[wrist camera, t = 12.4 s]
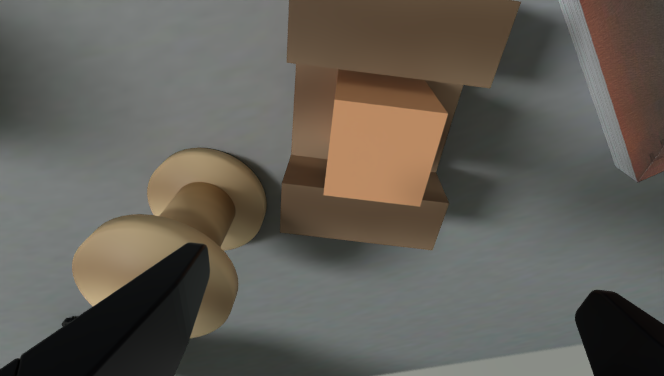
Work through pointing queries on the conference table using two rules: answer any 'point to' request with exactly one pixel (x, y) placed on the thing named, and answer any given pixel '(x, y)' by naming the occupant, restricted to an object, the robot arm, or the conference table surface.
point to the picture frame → (624, 76)
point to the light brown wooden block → (382, 138)
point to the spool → (179, 230)
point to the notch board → (386, 59)
